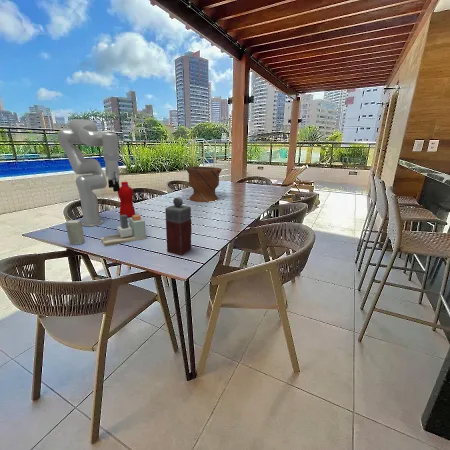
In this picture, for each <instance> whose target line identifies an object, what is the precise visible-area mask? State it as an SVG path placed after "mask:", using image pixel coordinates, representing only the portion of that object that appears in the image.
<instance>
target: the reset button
mask: <svg viewBox="0 0 450 450" xmlns="http://www.w3.org/2000/svg"><path fill="white" fill-rule="evenodd" d="M131 218H132V220H133V221H137V220H141V218H142V217H141V215H139V214H135V215H132V217H131Z"/></svg>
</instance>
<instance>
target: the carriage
mask: <svg viewBox="0 0 450 450" xmlns="http://www.w3.org/2000/svg"><path fill="white" fill-rule="evenodd" d="M119 220H120V225H119V226H117V227H116V228H117V234H120V237H121V238H123V237H128V236H132V234H133V233H132V228H131V227H130V226H129V220H128V218H127V215H120V214H119Z"/></svg>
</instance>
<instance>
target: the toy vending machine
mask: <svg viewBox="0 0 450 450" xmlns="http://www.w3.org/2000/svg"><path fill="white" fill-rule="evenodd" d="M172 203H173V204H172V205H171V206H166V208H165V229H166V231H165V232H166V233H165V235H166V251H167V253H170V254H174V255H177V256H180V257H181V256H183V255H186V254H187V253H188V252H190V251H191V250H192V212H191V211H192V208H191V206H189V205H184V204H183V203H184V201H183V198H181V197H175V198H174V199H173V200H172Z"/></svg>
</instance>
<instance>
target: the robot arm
mask: <svg viewBox="0 0 450 450" xmlns="http://www.w3.org/2000/svg"><path fill="white" fill-rule="evenodd" d="M56 137H57V141H58V144H59V146H60V148H61V149H62V150H63V152H64V153H65V155H66V156H67V159H68V161H69V164H70V166H71V168H72V171H73V172H74V173H75V175H78V176H77V177H76V179H75V184H76V188H77V190H78V194H79V199H80V204H81V211H82V217H83V219H82V220H83V221H81V223H82V227H97V226H100V225H102V224H103V223H104V220H102V219H101V217H100V209H99V202H98V201H99V200H98V196H97V194H96V193H95V192H94V191H95V190H102V189H105V188H107V185H108V188H111V189H112V191H113V192H118V191H120V187H121V186H120V168H119V163H118V162H119V161H120V150H119V149H120V148H119V137H118V134H117V133H113V132H110V131H109V132H108V131H101V130H98V125H97V123H96V122H95V121H93V120H91V119H83V118H82V119H81V118H74V119H71V120H70V121H69V123H68V128H65V129H64V128H63V129H59V131H57V134H56ZM76 145H86V146H88V147H102V152H103V161H105V162H104V164H105V165H104V167H105V168H104V169H105V172H104V171H103V169H102V165H101V163H100V162H99V161H98V160H97V159H95V158H85V157H84V155H83V152H82V151H81V150H80V148H78V147H77V146H76Z"/></svg>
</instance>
